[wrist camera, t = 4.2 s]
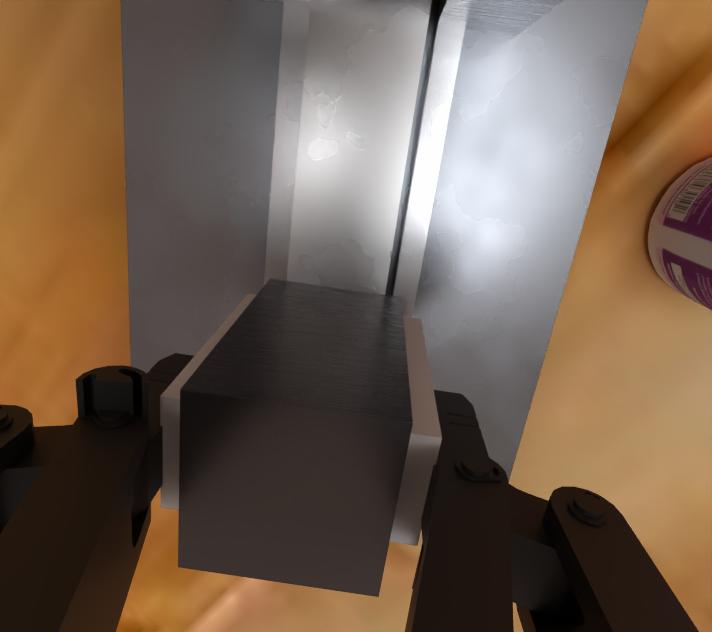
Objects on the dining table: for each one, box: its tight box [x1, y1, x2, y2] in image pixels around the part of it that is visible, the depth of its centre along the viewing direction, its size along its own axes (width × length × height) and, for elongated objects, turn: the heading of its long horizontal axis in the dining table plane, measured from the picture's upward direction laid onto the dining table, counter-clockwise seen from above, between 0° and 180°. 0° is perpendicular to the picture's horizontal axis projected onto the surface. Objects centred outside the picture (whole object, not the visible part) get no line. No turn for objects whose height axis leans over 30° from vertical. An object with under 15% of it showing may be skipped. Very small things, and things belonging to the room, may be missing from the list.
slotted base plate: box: [121, 0, 648, 482], centre depth 14 cm, size 28×16×8 cm, turn 173°
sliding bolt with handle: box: [178, 0, 432, 597], centre depth 12 cm, size 16×4×10 cm, turn 173°
